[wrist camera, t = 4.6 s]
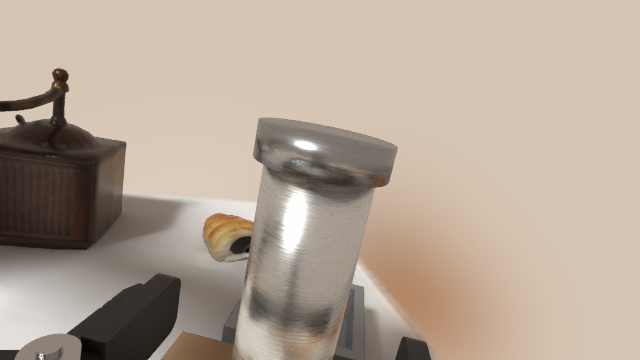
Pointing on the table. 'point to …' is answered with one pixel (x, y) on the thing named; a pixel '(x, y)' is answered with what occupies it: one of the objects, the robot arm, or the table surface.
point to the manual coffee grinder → (57, 178)
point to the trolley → (198, 349)
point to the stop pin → (306, 236)
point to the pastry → (228, 237)
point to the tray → (351, 333)
